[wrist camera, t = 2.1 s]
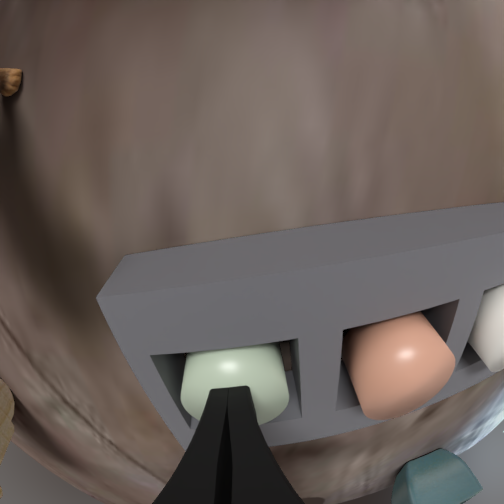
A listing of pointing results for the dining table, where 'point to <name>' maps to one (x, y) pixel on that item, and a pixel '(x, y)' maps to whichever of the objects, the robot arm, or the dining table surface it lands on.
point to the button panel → (305, 306)
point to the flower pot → (435, 480)
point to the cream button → (490, 329)
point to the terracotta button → (396, 364)
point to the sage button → (237, 378)
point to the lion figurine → (9, 80)
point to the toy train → (5, 419)
